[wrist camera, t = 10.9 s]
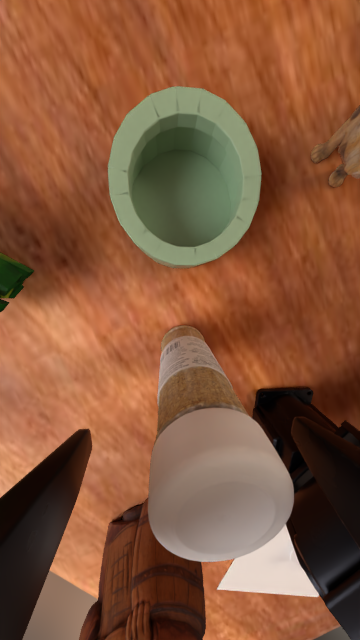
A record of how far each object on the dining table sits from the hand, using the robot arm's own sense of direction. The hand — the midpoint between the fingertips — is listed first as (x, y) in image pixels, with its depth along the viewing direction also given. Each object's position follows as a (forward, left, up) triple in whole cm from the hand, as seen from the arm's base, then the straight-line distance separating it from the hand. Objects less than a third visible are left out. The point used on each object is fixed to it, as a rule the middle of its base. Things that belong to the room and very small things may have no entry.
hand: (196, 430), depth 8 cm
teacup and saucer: (-19, +37, -11) cm, 43 cm away
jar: (0, -12, -11) cm, 16 cm away
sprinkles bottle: (0, 0, -11) cm, 11 cm away
